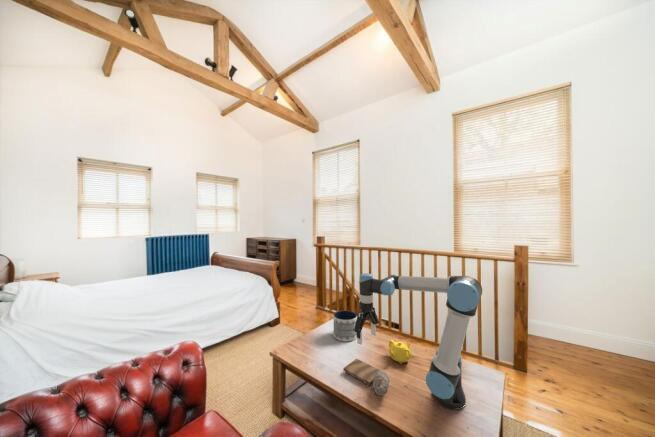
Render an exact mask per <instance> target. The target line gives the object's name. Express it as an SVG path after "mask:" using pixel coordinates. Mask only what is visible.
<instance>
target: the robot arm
mask: <svg viewBox="0 0 655 437" xmlns="http://www.w3.org/2000/svg"><path fill="white" fill-rule="evenodd" d="M358 282H359V284H358V286H359V309H360V310H361V311H360V312H357V321H356V325H355V329H354V332H357V338H356V343H357V344H359V345H361V346H362V345H363V332H362V330H363V328H364V325H365V323H366V321H367V319H369V320H370V322H371V323H370V333H371V336H374V337H376V335H377V327H376V326H377V324H378V322H379V319H378V316H377V312H376V308H375V307H374V294H379V295H383V296H390V297H391V296H393V295H394V293H395V290H402V291H403V290H404V291H416V292H429V293H442V294H446V297H447V299H446V302H445V306H446V308H447V309H448V310H447V314H446V319H445V322H444V327H443V329H442V330H443V331H442V334H441V337H440V341H439V346H438V348H437V349H436V351H435V355H434V356H432V359H431V363H430V366H429V370H428V372H427V373H426V375H425V384H426V386H427V388H428V389H429V391H430V392H431V394H432V397H433V399H434V400H435V401H436V402H437V403H439V404H440V405H442V406H444V407H446V408H449V409H452V408H460V409H462V408H461V407H463V406H464V405H465V406H466V404H465V403H466V402H467V400H466V399H467V398H466V394H465V392H464V389H463V385H462V382H463V380H462V379H463V376H462V372H463V371H462V366H463V364H462V363H463V361H462V356H461V353H462V348H463V345H464V342H465V337H466V335H467V330H468V327H469V323H470V319H471V318H473V317H475V316H476V313H477V310H478V306H479V303H480V299H481V296H482V295H483V287H482V285H481V283H480V282H479V281H478V280H477V279H476V278H475V277H473V276H471V275H449V276H448V277H437V276H436V277H435V276H410V275H409V276H407V275H406V276H405V275H397V274H390V275H389V276H387V277H384V278H382V279H377V278H374V276H373V274H371V273H361V274H359V281H358ZM465 406H464V407H465ZM464 407H463V408H464Z"/></svg>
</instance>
